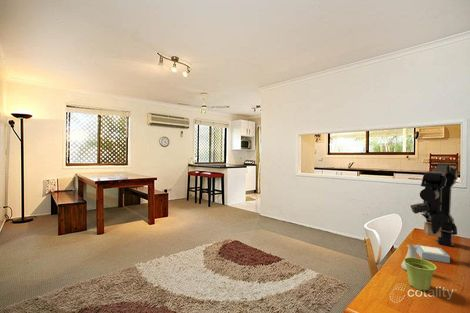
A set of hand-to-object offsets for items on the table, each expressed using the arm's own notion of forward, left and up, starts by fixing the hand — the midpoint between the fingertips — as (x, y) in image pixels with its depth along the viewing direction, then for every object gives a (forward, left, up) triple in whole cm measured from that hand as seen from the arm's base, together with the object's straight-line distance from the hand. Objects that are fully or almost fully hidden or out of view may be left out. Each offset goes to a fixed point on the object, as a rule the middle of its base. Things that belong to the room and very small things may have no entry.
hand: (432, 231), depth 110 cm
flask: (+19, -12, -12) cm, 26 cm away
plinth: (0, 0, -12) cm, 12 cm away
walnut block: (0, 0, -1) cm, 1 cm away
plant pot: (+33, -13, -12) cm, 38 cm away
